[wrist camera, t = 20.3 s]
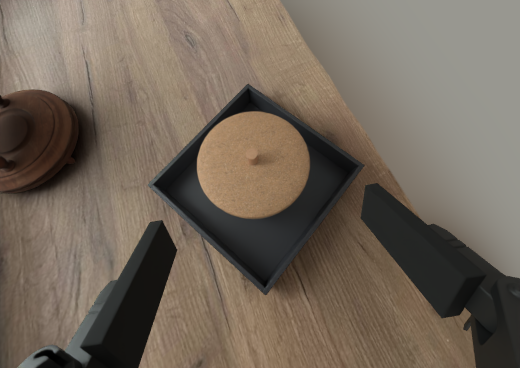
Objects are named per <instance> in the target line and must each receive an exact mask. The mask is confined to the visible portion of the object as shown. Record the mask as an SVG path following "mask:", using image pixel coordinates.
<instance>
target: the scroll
mask: <svg viewBox="0 0 520 368" xmlns="http://www.w3.org/2000/svg"><path fill="white" fill-rule="evenodd" d="M78 134H79V125H78V119H77V116H76V114H75V112H74V110H73V109H72V107H71V106H70V105H69V104H68V103H66V102H65V101H64V100H62V99H60V98H59V97H58V96H56V95H54V94H52V93H50V92H47V91H43V90H22V91H17V92H14V93H11V94H8V95H6V96H3V97H1V95H0V193H18V192H23V191H26V190H30V189H32V188H35V187H37V186H39V185H41V184H42V183H44V182H46V181H47V180H49V179H50V178H51V177H53V176H54V175H55V174H56V173H57V172H58V171H59V170H60V169H61V168H62V167H63V166H64V165H65V164H66V163H67V164H73V163H75V160H74V159H73V158H72V157H71V155H72V153H73V151H74V149H75V146H76V143H77V140H78Z"/></svg>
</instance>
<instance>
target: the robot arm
mask: <svg viewBox="0 0 520 368" xmlns="http://www.w3.org/2000/svg"><path fill="white" fill-rule="evenodd" d="M361 219H362V220H363V222H364V223H365V224H366V225H367V227H368V228H369V229H370V230H371V232H372V233H373V234H374V235H375V236H376V238H377V239H378V240H379V241H380V243H381V244H382V245H383V246H384V248H385V249H386V250H387V251H388V252H389V254H390V255H391V256H392V257H393V259H394V260H395V261H396V262H397V264H398V265H399V266H400V267H401V268H402V270H403V271H404V272H405V273H406V275H407V276H408V277H409V278H410V280H411V281H412V282H413V283H414V284H415V286H416V287H417V288H418V289H419V291H420V292H421V293H422V294H423V296H424V297H425V298H426V299H427V300H428V302H429V303H430V304H431V305H432V307H433V308H434V309H435V310H436V312H437V313H438V314H439V315H440V316H441V318H446V317H452V316H458V315H460V314H461V312H462V311H463V309H464V308H466V309H467V310H468V311H469V312H470V313H471V314H472V315H471V316H470V317H469V319H468V320H467V322H466V323H465V324H464V328H463V329H464V330H466V331H467V330H468V329H469V327H470V326H471V331H472V339H473V347H474V354H475V362H476V368H520V279H519V278H515V277H510V276H505V275H504V274H502V273H501V272H499V271H498V270H497V269H496V268H494V267H493V266H492V265H491V264H489V263H488V262H487V261H485V260H484V259H483V258H481V257H480V256H479V255H478V254H477V253H475V252H474V251H473V250H471V249H470V248H469V247H466V245H465V244H464V243H462V242H461V241H460V240H457V238H456V237H455V236H453V235H452V234H451V233H450V232H448V231H447V230H445V229H443V228H441V227H439V226H437V225H435V224H431V225H427V224H426V223H424V222H423V221H422V220H421V219H420V218H418V217H417V216H416V215H415V214H414V213H412V212H411V211H410V210H409V209H408V208H406V207H405V206H404V205H403V204H402V203H400V202H399V201H398V200H397V199H396V198H394V197H393V196H392V195H391V194H390V193H388V192H387V191H386V190H385V189H384V188H382V187H381V186H380V185H379V184H378V183H375V184H369V185H365V191H364V198H363V205H362V212H361ZM176 252H177V249H176V247H175V245H174V243H173V241H172V239H171V237H170V235H169V233H168V231H167V229H166V227H165V225H164V223H163V221H162V220H161V221H155V222H150V223H149V225H148V227H147V229H146V230H145V232H144V234H143V236H142V238H141V239H140V241H139V243H138V245H137V246H136V248H135V250H134V252H133V253H132V255H131V257H130V259H129V261H128V262H127V264H126V266H125V268H124V269H123V271H122V273H121V275H120V276H119V278H118V280H115V281H111V282H110V283H109V284H108V285H107V286H106V287H105V288H104V289H103V290H102V291H101V292H100V294H99V296H98V297H97V299H96V301H95V302H94V305H92V307H91V309H90V310H89V312H88V313H89V314H88V315H86V317H85V319H84V320H83V322H82V324H81V325H80V327H79V328H78V330H77V332H76V333H75V335H74V337H73V338H72V340H71V342H70V343H69V345H68V347H67V348H66V350H65V351H64V350H62V349H61V348H59V347H58V346H55V345H49V346H46V347H43V348H41V349H39V350H38V351H36V352H34V353H33V354H32V355H31V356H29V357H28V358H27V359H26V360H25V361H24V362H23V363H22V364H21V365H20V366H19V367H18V368H138V367H139V364H140V361H141V358H142V355H143V352H144V349H145V346H146V343H147V340H148V337H149V334H150V331H151V328H152V325H153V322H154V319H155V316H156V313H157V310H158V307H159V304H160V301H161V298H162V295H163V292H164V289H165V286H166V283H167V280H168V277H169V273H170V270H171V267H172V264H173V261H174V258H175V255H176Z"/></svg>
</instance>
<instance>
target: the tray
mask: <svg viewBox="0 0 520 368" xmlns="http://www.w3.org/2000/svg"><path fill="white" fill-rule="evenodd" d="M253 111H256V112H265V113H270V114H273V115H276V116H278V117H280V118H282V119H284V120H286V121H287V122H289V123H290V124H291V125H292V126H293V127H294V128H295V129H296V130H297V131H298V132H299V133H300V135H301V136H302V137H303V139H304V141H305V143H306V145H307V148H308V152H309V157H310V171H309V176H308V180H307V182H306V185H305V187H304V189H303V191H302V192H301V194H300V195H299V197H298V198H297V199H296V200H295V201H294V202H293V203H292V204H291V205H290V206H289V207H287V208H286V209H284V210H283V211H281V212H280V213H278V214H275V215H273V216H270V217H267V218H262V219H246V218H240V217H236V216H233V215H231V214H229V213H226V212H225V211H223V210H221V209H220V208H218V207H217V206H216V205H215V204H214V203H213V202H211V201H210V199H209V198H208V197H207V196H206V194H205V193H204V191H203V189H202V187H201V185H200V182H199V179H198V173H197V158H198V153H199V150H200V147H201V145H202V143H203V141H204V139H205V137H206V136H207V135H208V133H209V132H210V131H211V130H212V129H213V128H214V127H215V126H216V125H217V124H219V123H220V122H221V121H223V120H225V119H227V118H228V117H231V116H233V115H236V114H239V113H244V112H253ZM363 167H364V165H363V164H362V163H361V162H359V161H358V160H356V159H355V158H353V157H352V156H351V155H349V154H348V153H346V152H345V151H343V150H342V149H341V148H339V147H338V146H336V145H335V144H333V143H332V142H331V141H329V140H328V139H326V138H325V137H323V136H322V135H321V134H319V133H318V132H316V131H315V130H313V129H312V128H311V127H309V126H308V125H306V124H305V123H303V122H302V121H301V120H299V119H298V118H296V117H295V116H293V115H292V114H291V113H289V112H288V111H286V110H285V109H283V108H282V107H281V106H279V105H278V104H276V103H275V102H273V101H272V100H271V99H269V98H268V97H266V96H265V95H263V94H262V93H261V92H259V91H258V90H256V89H255V88H253V87H252V86H250V85H249V84H247V85H246V86H245V87H244V88H243V89H242V90H241V91H240V92H239V93H238V94H237V95H236V96H235V97H234V98H233V99H232V100H231V101H230V102H229V103H228V104H227V105H226V106H225V107H224V108H223V109H222V110H221V111H220V112H219V113H218V114H217V115H216V116H215V117H214V118H213V119H212V120H211V121H210V122H209V123H208V124H207V125H206V126H205V127H204V128H203V129H202V130H201V131H200V132H199V133H198V134H197V135H196V137H195V138H194V139H193V140H192V141H191V142H190V143H189V144H188V145H187V146H186V147H185V148H184V149H183V150H182V151H181V152H180V153H179V154H178V155H177V156H176V157H175V158H174V159H173V160H172V161H171V162H170V163H169V164H168V165H167V166H166V167H165V168H164V169H163V170H162V171H161V172H160V173H159V174H158V175H157V176H156V177H155V178H154V179H153V180H152V181H151V182H150V183H149V184H148V186H149V187H150V188H151V189H152V190H153V191H154V192H155V193H156V194H157V195H159V196H160V197H161V198H162V199H163V200H164V201H165V202H166V203H167V204H168V205H169V206H170V207H171V208H172V209H174V210H175V211H176V212H177V213H178V214H179V215H180V216H181V217H182V218H183V219H184V220H185V221H186V222H187V223H189V224H190V225H191V226H192V227H193V228H194V229H195V230H196V231H197V232H198V233H199V234H200V235H201V236H202V237H204V238H205V239H206V240H207V241H208V242H209V243H210V244H211V245H212V246H213V247H214V248H215V249H216V250H217V251H219V252H220V253H221V254H222V255H223V256H224V257H225V258H226V259H227V260H228V261H229V262H230V263H231V264H233V265H234V266H235V267H236V268H237V269H238V270H239V271H240V272H241V273H242V274H243V275H244V276H245V277H246V278H248V279H249V280H250V281H251V282H252V283H253V284H254V285H255V286H256V287H257V288H258V289H259V290H260V291H261V292H263V293H264V294H265V295H266V294H267V293H268V292H269V291H270V289H271V288H272V287H273V285H274V284H275V283H276V281H277V280H278V279H279V277H280V276H281V275H282V273H283V272H284V271H285V269H286V268H287V267H288V266H289V264H290V263H291V262H292V260H293V259H294V258H295V256H296V255H297V254H298V252H299V251H300V250H301V248H302V247H303V246H304V244H305V243H306V242H307V241H308V239H309V238H310V237H311V235H312V234H313V233H314V231H315V230H316V229H317V227H318V226H319V225H320V223H321V222H322V221H323V219H324V218H325V217H326V215H327V214H328V213H329V212H330V210H331V209H332V208H333V206H334V205H335V204H336V202H337V201H338V200H339V198H340V197H341V196H342V194H343V193H344V192H345V190H346V189H347V188H348V187H349V185H350V184H351V183H352V181H353V180H354V179H355V177H356V176H357V175H358V173H359V172H360V171H361V169H362V168H363Z"/></svg>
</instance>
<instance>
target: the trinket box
mask: <svg viewBox="0 0 520 368" xmlns="http://www.w3.org/2000/svg"><path fill="white" fill-rule="evenodd" d="M309 171H310V157H309V152H308V148H307V145H306V143H305V141H304V139H303V137H302V136H301V135H300V133H299V132H298V131H297V130H296V129H295V128H294V127H293V126H292V125H291V124H290V123H289V122H287V121H286V120H284V119H282V118H280V117H278V116H276V115H273V114H270V113H265V112H256V111H253V112H244V113H239V114H236V115H233V116H231V117H228V118H227V119H225V120H223V121H221V122H220V123H219V124H217V125H216V126H215V127H214V128H213V129H212V130H211V131H210V132H209V133H208V135H207V136H206V137H205V139H204V141H203V143H202V145H201V147H200V150H199V153H198V158H197V173H198V179H199V182H200V185H201V187H202V189H203V191H204V193H205V194H206V196H207V197H208V198H209V199H210V201H211V202H213V203H214V204H215V205H216V206H217V207H218V208H220V209H221V210H223V211H225V212H226V213H229V214H231V215H233V216H236V217H240V218H246V219H262V218H267V217H270V216H273V215H275V214H278V213H280V212H281V211H283V210H284V209H286V208H287V207H289V206H290V205H291V204H292V203H293V202H294V201H295V200H296V199H297V198H298V197H299V195H300V194H301V192H302V191H303V189H304V187H305V185H306V182H307V180H308V176H309Z"/></svg>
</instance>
